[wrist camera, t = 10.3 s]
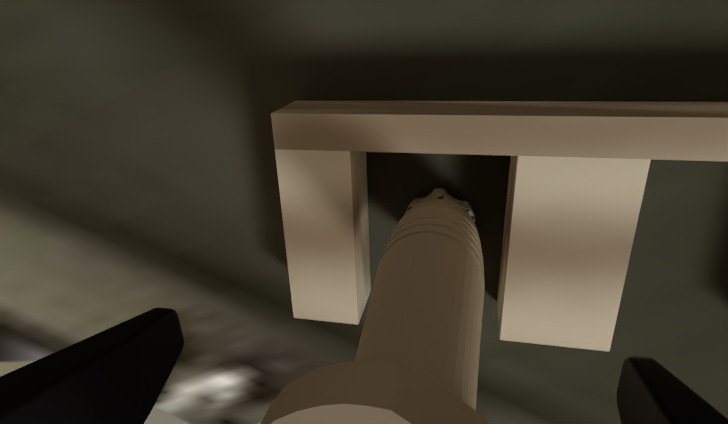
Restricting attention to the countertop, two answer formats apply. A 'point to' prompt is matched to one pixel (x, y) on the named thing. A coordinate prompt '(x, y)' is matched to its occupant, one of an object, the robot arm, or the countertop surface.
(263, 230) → the countertop surface
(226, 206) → the countertop surface
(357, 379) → the handle
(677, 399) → the robot arm
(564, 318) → the notched rail
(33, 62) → the countertop surface
